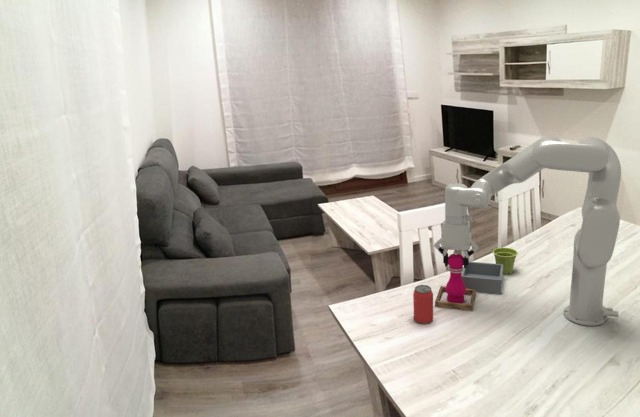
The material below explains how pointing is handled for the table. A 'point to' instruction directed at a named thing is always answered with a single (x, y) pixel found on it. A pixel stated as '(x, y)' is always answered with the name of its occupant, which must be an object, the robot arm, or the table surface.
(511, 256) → the plant pot
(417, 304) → the beer can
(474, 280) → the bin
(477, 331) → the table surface
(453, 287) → the pepper mill
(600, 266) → the robot arm
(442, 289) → the brown wooden picture frame
